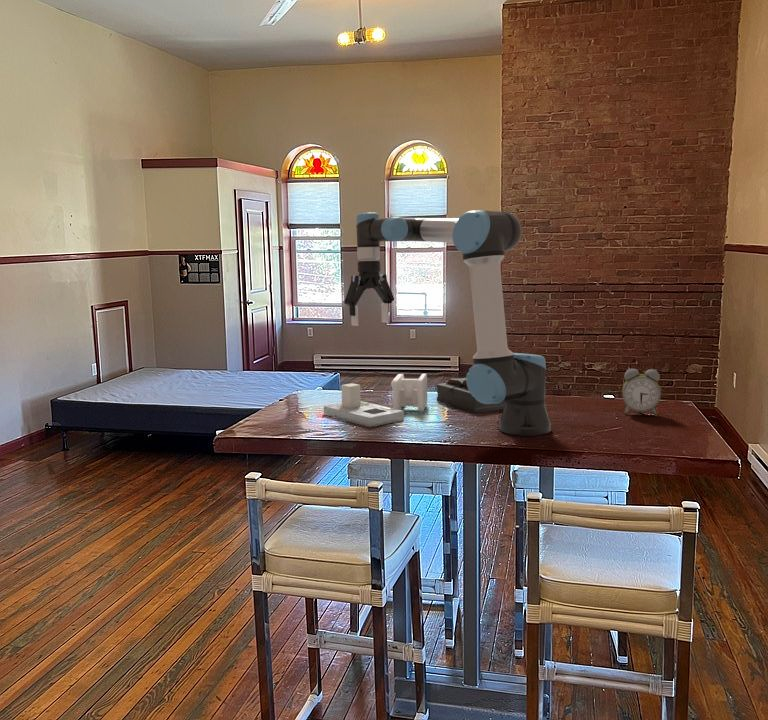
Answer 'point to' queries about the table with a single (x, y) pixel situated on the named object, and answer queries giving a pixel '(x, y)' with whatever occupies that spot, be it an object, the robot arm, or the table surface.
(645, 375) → the alarm clock
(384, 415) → the panel
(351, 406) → the plug
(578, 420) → the table surface
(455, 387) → the dark grey tray
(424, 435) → the table surface
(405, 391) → the cable organizer
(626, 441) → the table surface
